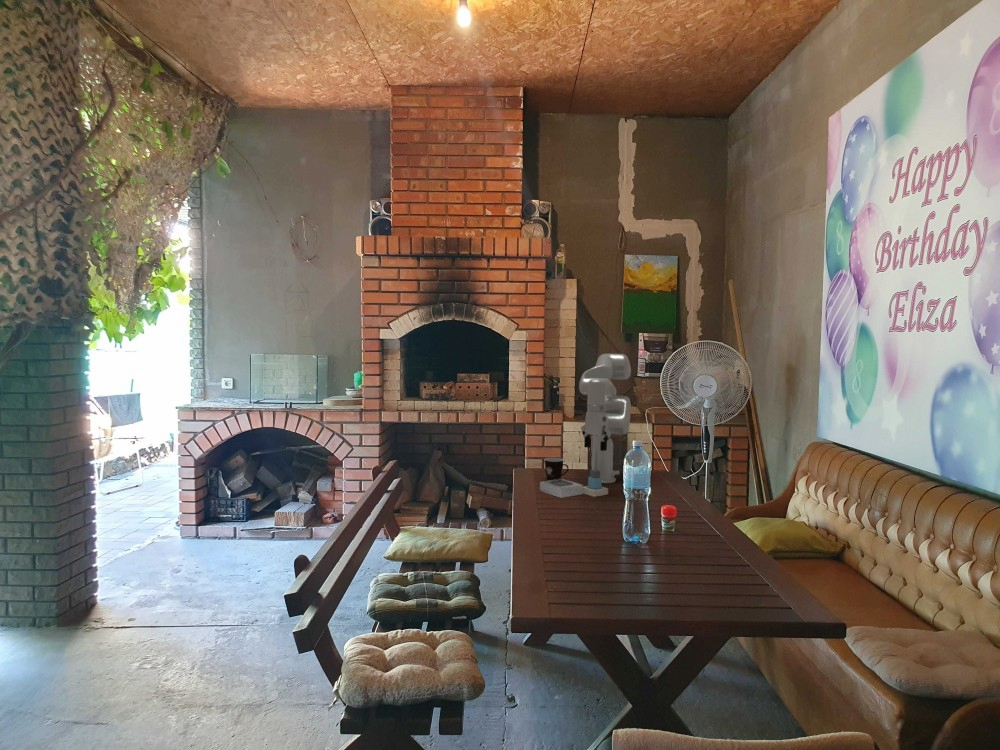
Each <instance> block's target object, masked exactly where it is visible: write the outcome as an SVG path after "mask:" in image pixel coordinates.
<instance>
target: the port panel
mask: <svg viewBox="0 0 1000 750" xmlns="http://www.w3.org/2000/svg"><path fill="white" fill-rule="evenodd" d="M583 487H584V485H583V484H581V483H578V482H574V481H570V480H568V479H565V478H561V479H555V480H549V481H547V480H545V481H540V482H539V492H542V493H545V494H548V495H550V496H554V497H557V498H560V499H563V498H569V497H570V498H571V497H573V496H581V495H584V494H583Z"/></svg>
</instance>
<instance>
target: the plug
mask: <svg viewBox="0 0 1000 750" xmlns="http://www.w3.org/2000/svg"><path fill="white" fill-rule="evenodd" d="M602 484H603V483H602V478H601V477H600V471H599V470H592V469H590V470H589V476H588V478H587V486H588V488H589V489H593V490H597V489H601V487H602Z"/></svg>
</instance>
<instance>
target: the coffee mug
mask: <svg viewBox="0 0 1000 750" xmlns="http://www.w3.org/2000/svg"><path fill="white" fill-rule="evenodd" d="M563 466H565V467H566V471H565V472H564V473H562V471H563ZM569 468H570V467H569V465H568V464H566V463H564V459H563V458H558V457H546V458H544V469H545V478H546V480H545V481H549V480H555V479H562V477H563V476H564V475H566V474H567V473H568V472H569V470H570V469H569Z"/></svg>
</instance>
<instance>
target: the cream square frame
mask: <svg viewBox="0 0 1000 750" xmlns="http://www.w3.org/2000/svg"><path fill="white" fill-rule="evenodd" d="M582 495H588V496H589V497H592V498H595V497H600V496H601V497H602V496H606V495H609V488H608V487H604V486H601V489H597V490H593V489H589V488H588V485H586V486H583V494H582Z"/></svg>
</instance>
